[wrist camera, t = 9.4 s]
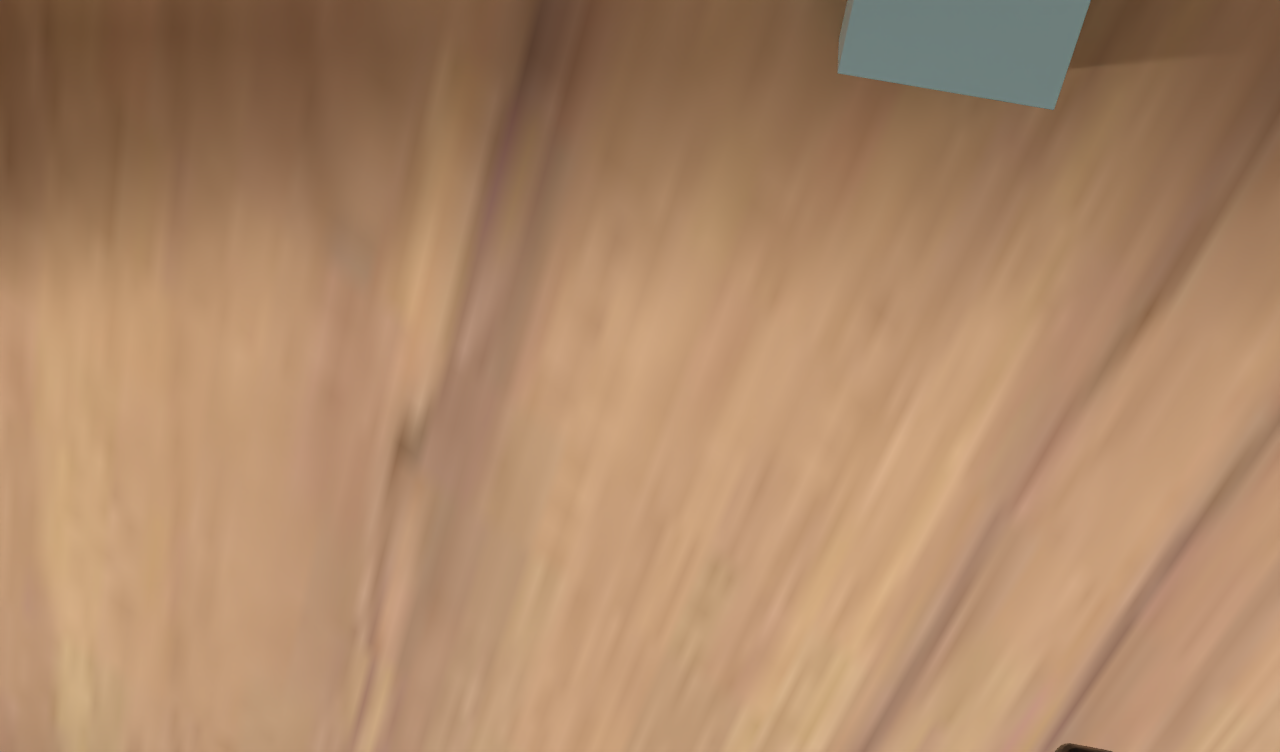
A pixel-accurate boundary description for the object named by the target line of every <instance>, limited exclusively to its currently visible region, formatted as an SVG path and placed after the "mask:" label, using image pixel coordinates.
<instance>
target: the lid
mask: <svg viewBox="0 0 1280 752" xmlns="http://www.w3.org/2000/svg"><path fill="white" fill-rule="evenodd" d="M1090 1H1091V0H847V4H846V9H845V14H844V18H843V23H842V27H841V32H840V36H839V47H838V73H840V74H845V75H851V76H857V77H863V78H869V79H875V80H881V81H886V82H892V83H898V84H904V85H910V86H916V87H922V88H928V89H933V90H939V91H945V92H951V93H957V94H963V95H969V96H974V97H980V98H986V99H992V100H998V101H1004V102H1010V103H1016V104H1021V105H1027V106H1033V107H1039V108H1045V109H1051V110H1054V108H1055V105H1056V102H1057V99H1058V96H1059V93H1060V90H1061V87H1062V84H1063V81H1064V79H1065V76H1066V73H1067V70H1068V67H1069V64H1070V61H1071V58H1072V55H1073V52H1074V49H1075V46H1076V43H1077V40H1078V37H1079V34H1080V31H1081V28H1082V25H1083V22H1084V19H1085V16H1086V13H1087V10H1088V7H1089V4H1090Z"/></svg>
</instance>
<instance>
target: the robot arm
mask: <svg viewBox="0 0 1280 752" xmlns="http://www.w3.org/2000/svg"><path fill="white" fill-rule="evenodd" d="M1055 752H1112V751H1108V750H1103V749H1098V748H1093V747H1087V746H1082V745H1077V744H1071V743H1069V744H1063V745H1061V746H1060V747H1059V748H1057V750H1056V751H1055Z"/></svg>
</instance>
